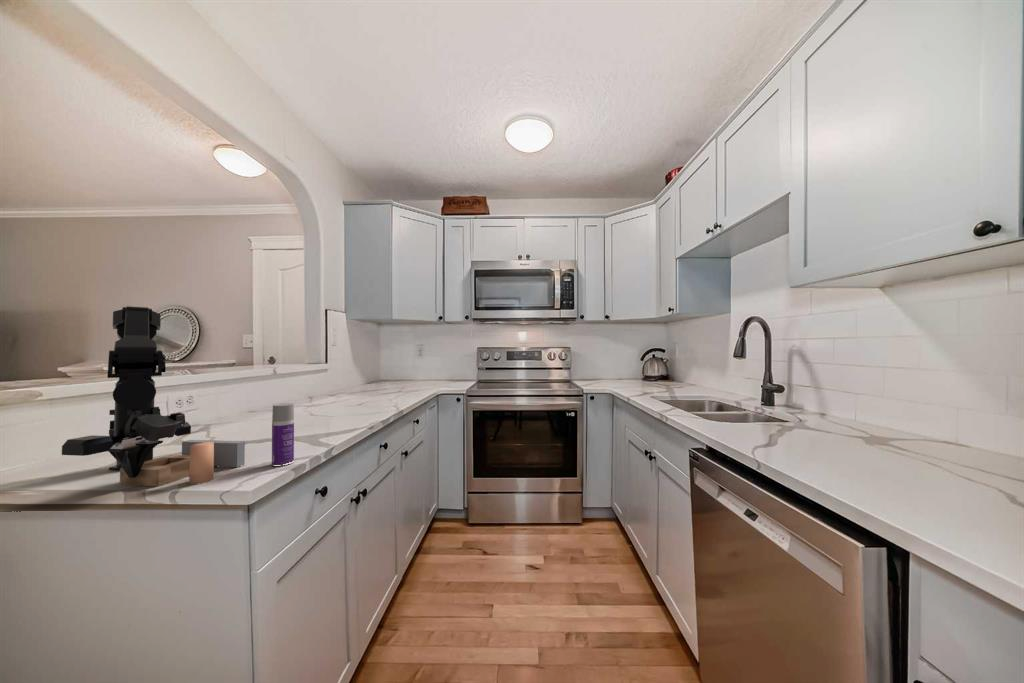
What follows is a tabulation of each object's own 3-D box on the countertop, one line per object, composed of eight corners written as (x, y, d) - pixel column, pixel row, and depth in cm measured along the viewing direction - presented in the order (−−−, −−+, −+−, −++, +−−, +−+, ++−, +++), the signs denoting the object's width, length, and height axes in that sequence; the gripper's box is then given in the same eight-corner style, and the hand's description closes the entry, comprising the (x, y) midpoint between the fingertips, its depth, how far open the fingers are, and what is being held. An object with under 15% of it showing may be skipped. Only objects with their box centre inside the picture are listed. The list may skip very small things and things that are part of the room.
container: (285, 466, 85) (286, 405, 86) (267, 466, 85) (267, 406, 86) (297, 460, 90) (298, 403, 90) (280, 461, 90) (280, 403, 90)
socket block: (119, 484, 75) (120, 468, 75) (171, 468, 85) (171, 454, 85) (158, 486, 73) (158, 469, 74) (206, 470, 83) (206, 455, 83)
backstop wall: (181, 465, 87) (181, 441, 87) (190, 463, 89) (190, 439, 89) (237, 467, 85) (237, 443, 85) (244, 465, 87) (244, 441, 87)
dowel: (184, 483, 75) (184, 446, 75) (203, 477, 79) (203, 441, 79) (199, 484, 74) (200, 447, 74) (218, 477, 78) (218, 442, 78)
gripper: (109, 411, 63) (106, 497, 63) (211, 398, 82) (210, 464, 81) (60, 410, 65) (57, 494, 64) (172, 398, 83) (170, 463, 83)
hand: (133, 477), depth 73 cm, fingers closed
